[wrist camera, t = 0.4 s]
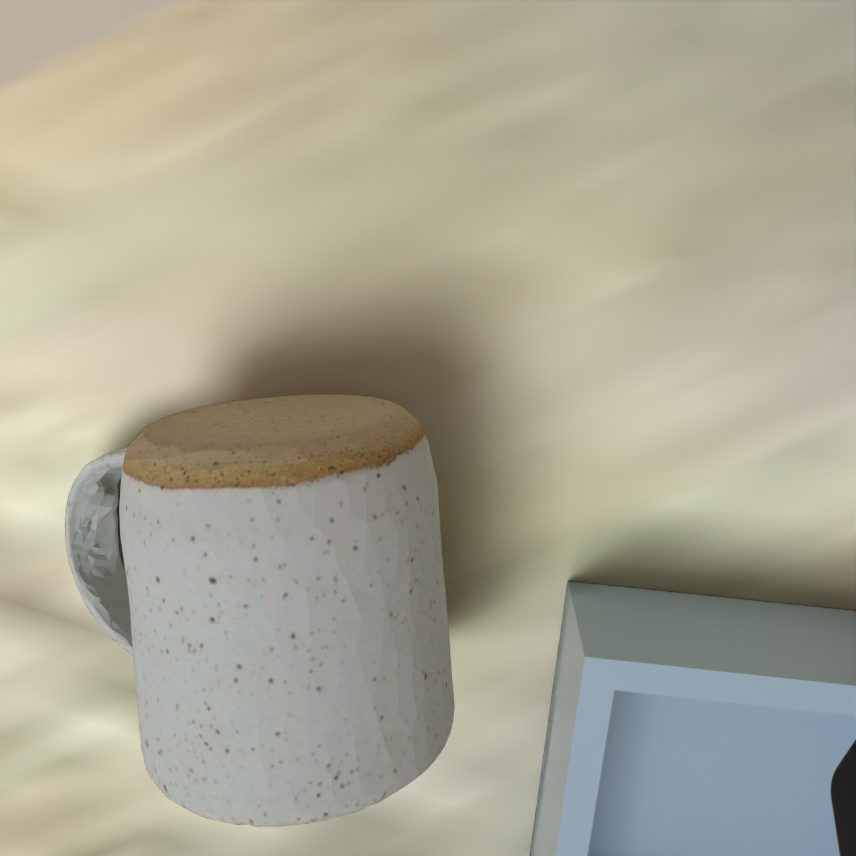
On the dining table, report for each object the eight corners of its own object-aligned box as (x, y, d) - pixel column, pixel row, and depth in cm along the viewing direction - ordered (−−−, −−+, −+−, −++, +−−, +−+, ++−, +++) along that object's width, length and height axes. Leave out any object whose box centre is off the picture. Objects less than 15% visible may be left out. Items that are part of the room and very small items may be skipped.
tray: (864, 924, 25) (934, 1054, 21) (525, 884, 25) (533, 1004, 21) (950, 620, 22) (1049, 706, 18) (567, 581, 23) (584, 656, 19)
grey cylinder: (442, 372, 21) (411, 456, 14) (462, 646, 23) (444, 846, 16) (67, 394, 22) (-147, 483, 15) (117, 654, 24) (-49, 844, 17)
